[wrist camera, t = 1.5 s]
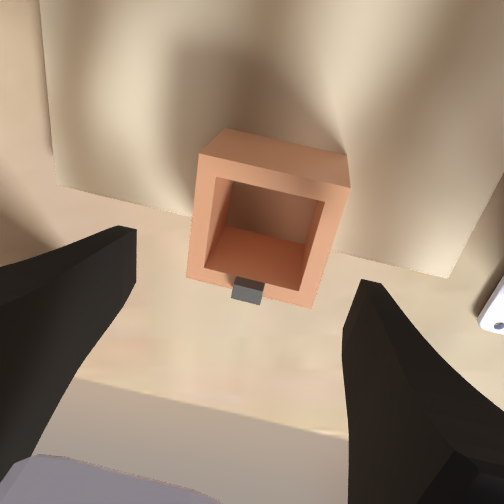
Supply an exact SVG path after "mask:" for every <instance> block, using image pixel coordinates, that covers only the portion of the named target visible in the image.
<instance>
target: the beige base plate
mask: <svg viewBox="0 0 504 504" xmlns="http://www.w3.org/2000/svg"><path fill="white" fill-rule="evenodd" d="M39 4H40V15H41V26H42V37H43V48H44V59H45V70H46V81H47V92H48V103H49V114H50V125H51V136H52V147H53V158H54V169H55V180H56V185H59V186H63V187H67V188H71V189H76V190H80V191H84V192H88V193H92V194H96V195H101V196H105V197H109V198H113V199H117V200H121V201H126V202H130V203H134V204H138V205H142V206H146V207H151V208H155V209H159V210H163V211H167V212H171V213H176V214H180V215H184V216H188V217H192V215H193V205H194V196H195V187H196V177H197V168H198V158H199V153H200V152H201V151H202V150H203V149H204V148H205V147H206V146H207V145H208V144H209V143H210V142H211V141H212V140H213V139H214V138H215V137H216V136H218V135H219V134H220V133H221V132H222V131H223V130H224V129H225V128H228V129H232V130H237V131H241V132H246V133H250V134H255V135H259V136H264V137H268V138H273V139H277V140H281V141H286V142H290V143H295V144H299V145H304V146H308V147H313V148H317V149H322V150H326V151H330V152H335V153H339V154H344V155H347V159H348V168H349V177H350V186H351V189H350V192H349V195H348V198H347V201H346V204H345V207H344V211H343V214H342V217H341V220H340V223H339V226H338V229H337V232H336V235H335V238H334V241H333V244H332V247H331V251H334V252H338V253H342V254H346V255H351V256H355V257H359V258H363V259H367V260H371V261H376V262H380V263H384V264H388V265H392V266H396V267H401V268H405V269H409V270H413V271H417V272H421V273H426V274H430V275H434V276H438V277H442V278H446V279H448V277H449V275H450V273H451V271H452V269H453V267H454V266H455V264H456V262H457V260H458V258H459V256H460V254H461V252H462V250H463V249H464V247H465V245H466V243H467V241H468V239H469V237H470V235H471V234H472V232H473V230H474V228H475V226H476V224H477V222H478V220H479V218H480V217H481V215H482V213H483V211H484V209H485V207H486V205H487V203H488V201H489V200H490V198H491V196H492V194H493V192H494V190H495V188H496V186H497V184H498V183H499V181H500V179H501V177H502V175H503V173H504V0H39ZM316 203H317V200H315V199H310V198H306V197H302V196H297V195H293V194H289V193H284V192H280V191H276V190H272V189H267V188H263V187H259V186H254V185H250V184H246V183H241V182H237V181H233V185H232V191H231V197H230V204H229V210H228V216H227V223H226V226H230V227H234V228H238V229H242V230H246V231H251V232H255V233H259V234H263V235H267V236H271V237H276V238H280V239H284V240H288V241H292V242H296V243H301V244H305V242H306V239H307V235H308V231H309V228H310V224H311V221H312V217H313V214H314V210H315V207H316Z"/></svg>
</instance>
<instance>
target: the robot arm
mask: <svg viewBox="0 0 504 504" xmlns="http://www.w3.org/2000/svg"><path fill="white" fill-rule="evenodd" d="M136 245H137V229H132V228H128V227H123V226H119V225H118V226H115V227H112V228H109V229H106V230H104V231H101V232H99V233H96V234H94V235H91V236H89V237H86V238H84V239H81V240H79V241H76V242H74V243H72V244H69V245H67V246H64V247H61V248H58V249H56V250H53V251H50V252H47V253H44V254H42V255H39V256H36V257H33V258H30V259H27V260H24V261H20V262H17V263H14V264H10V265H6V266H2V267H0V504H223V503H222V502H221V501H219V500H217V499H214V498H212V497H210V496H208V495H205V494H202V493H200V492H198V491H195V490H193V489H189V488H185V487H181V486H177V485H173V484H170V483H166V482H162V481H158V480H154V479H150V478H146V477H142V476H138V475H134V474H130V473H126V472H122V471H119V470H115V469H110V468H106V467H103V466H99V465H95V464H91V463H87V462H83V461H79V460H75V459H71V458H67V457H62V456H51V455H41V454H38V455H35V456H31V455H32V453H33V451H34V449H35V447H36V445H37V443H38V441H39V439H40V437H41V435H42V433H43V431H44V429H45V427H46V425H47V424H48V422H49V420H50V418H51V416H52V414H53V413H54V411H55V409H56V407H57V405H58V403H59V402H60V400H61V398H62V396H63V394H64V393H65V391H66V389H67V387H68V386H69V384H70V382H71V381H72V379H73V377H74V375H75V374H76V372H77V370H78V369H79V367H80V366H81V364H82V363H83V361H84V360H85V358H86V357H87V355H88V354H89V353H90V351H91V350H92V349H93V347H94V346H95V345H96V343H97V342H98V340H99V339H100V338H101V336H102V335H103V334H104V332H105V331H106V330H107V328H108V327H109V326H110V324H111V323H112V321H113V320H114V319H115V317H116V316H117V314H118V313H119V312H120V310H121V309H122V307H123V306H124V304H125V302H126V300H127V299H128V297H129V295H130V293H131V291H132V289H133V287H134V285H135V283H136ZM477 322H478V324H479V326H480V327H481V329H484V330H487V331H491V332H495V333H499V334H503V335H504V276H503V277H502V279H501V281H500V282H499V284H498V285H497V287H496V289H495V290H494V292H493V293H492V295H491V297H490V298H489V300H488V302H487V303H486V305H485V306H484V308H483V310H482V311H481V313H480V315H479V316H478V318H477ZM497 322H501V323H500V324H498V325H494V324H495V323H497ZM342 366H343V376H344V386H345V396H346V406H347V416H348V429H349V478H348V504H504V411H503V410H501V409H500V408H499V407H497V406H496V405H495V404H494V403H492V402H491V401H490V400H489V399H487V398H486V397H485V396H484V395H483V394H481V393H480V392H479V391H478V390H476V389H475V388H474V387H473V386H472V385H471V384H470V383H468V382H467V381H466V380H465V379H464V378H463V377H462V376H461V375H460V374H459V373H458V372H456V371H455V370H454V369H453V368H452V367H451V366H450V365H449V364H448V363H447V362H446V361H445V360H444V359H443V358H442V357H441V356H440V355H439V354H438V353H437V352H436V351H435V349H434V348H433V347H432V346H431V345H430V344H429V343H428V342H427V341H426V339H425V338H424V337H423V336H422V335H421V334H420V332H419V331H418V330H417V329H416V328H415V326H414V325H413V324H412V323H411V321H410V320H409V319H408V318H407V316H406V315H405V314H404V313H403V311H402V310H401V309H400V307H399V306H398V305H397V303H396V302H395V301H394V299H393V298H392V297H391V295H390V294H389V293H388V291H387V290H386V289H385V288H384V286H383V285H382V284H381V283H377V282H373V281H368V280H364V279H361V281H360V284H359V286H358V289H357V292H356V295H355V297H354V300H353V303H352V305H351V308H350V311H349V313H348V316H347V319H346V321H345V324H344V327H343V336H342Z"/></svg>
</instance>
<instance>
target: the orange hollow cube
mask: <svg viewBox="0 0 504 504" xmlns="http://www.w3.org/2000/svg"><path fill="white" fill-rule="evenodd" d="M233 181H237V182H241V183H246V184H250V185H254V186H259V187H263V188H267V189H272V190H276V191H280V192H284V193H289V194H293V195H297V196H302V197H306V198H310V199H315V200H317V203H316V207H315V210H314V214H313V217H312V221H311V224H310V228H309V231H308V235H307V239H306V242H305V244H300V243H296V242H292V241H288V240H284V239H280V238H275V237H271V236H267V235H263V234H259V233H255V232H250V231H246V230H242V229H238V228H234V227H230V226H226V223H227V216H228V210H229V204H230V197H231V191H232V185H233ZM350 189H351V186H350V177H349V168H348V159H347V155H344V154H339V153H335V152H330V151H326V150H322V149H317V148H313V147H308V146H304V145H299V144H295V143H290V142H286V141H281V140H277V139H273V138H268V137H264V136H259V135H255V134H250V133H246V132H241V131H237V130H232V129H228V128H225V129H224V130H223V131H222V132H221V133H220V134H219V135H218V136H216V137H215V138H214V139H213V140H212V141H211V142H210V143H209V144H208V145H207V146H206V147H205V148H204V149H203V150H202V151H201V152H200V153H199V158H198V168H197V177H196V187H195V196H194V205H193V215H192V224H191V234H190V243H189V253H188V262H187V272H186V278H190V279H194V280H198V281H202V282H206V283H210V284H214V285H218V286H222V287H226V288H230V289H233V290H232V295H231V298H233V299H237V300H241V301H245V302H249V303H253V304H257V305H260V303H261V299H262V297H266V298H270V299H274V300H278V301H282V302H286V303H290V304H294V305H298V306H302V307H306V308H310V309H312V306H313V303H314V300H315V297H316V294H317V291H318V287H319V284H320V281H321V278H322V275H323V272H324V269H325V266H326V263H327V260H328V257H329V254H330V251H331V247H332V244H333V241H334V238H335V235H336V232H337V229H338V226H339V223H340V220H341V217H342V214H343V211H344V207H345V204H346V201H347V198H348V195H349V192H350Z"/></svg>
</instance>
